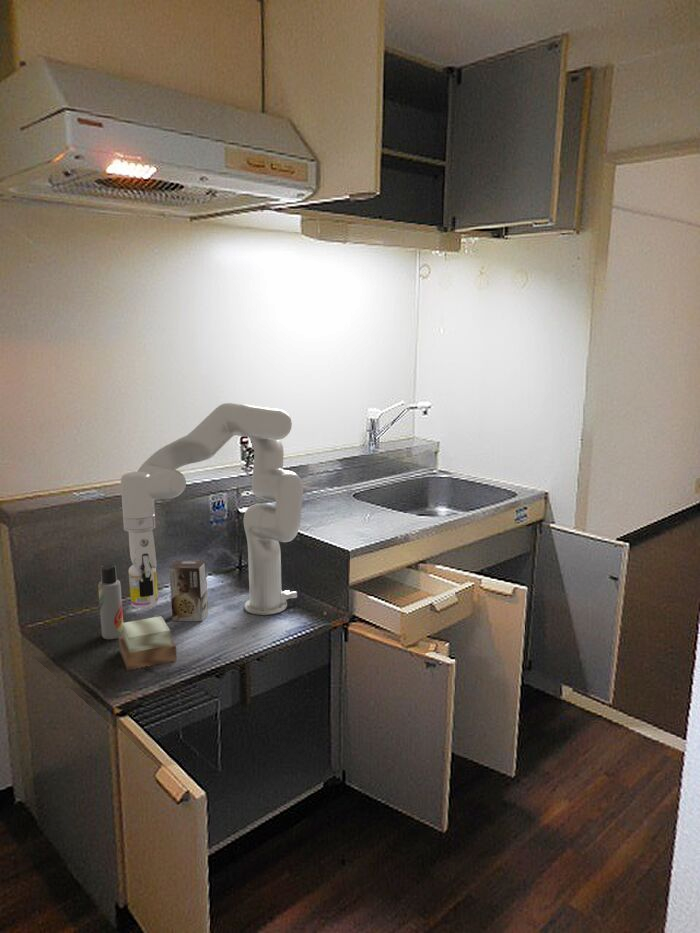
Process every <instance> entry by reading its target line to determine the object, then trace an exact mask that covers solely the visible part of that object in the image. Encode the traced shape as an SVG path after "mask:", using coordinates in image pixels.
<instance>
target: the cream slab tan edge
mask: <svg viewBox="0 0 700 933" xmlns="http://www.w3.org/2000/svg"><path fill="white" fill-rule="evenodd" d="M122 628H123V635H122V636H121V637H119V638H118V647H119V648H118V651H119V653H120V655H121V658H122V660H123V664H124V667H125V668H126V671H127V670H129V671H133V670H137V669H136V668H138V669H142V668H141V667H143V668H146V667H145V666H148V667H151V666H150V665H153V666H156V665H155V664H158V665H161V664H160V663H163V664H165V663H164V662H168V663H171V662H170V661H173V662H176V661H175V660H177V647H176V646H177V645H176V643H175V642H174V640H173V639H172V637H171V630H170V628H169V626H168V624H167V623H166V621H165V619H164V618H163V616H161V615H159V616H154V617H149V618H143V619H138V620H131V621H127V622H126V621H125V622H123V623H122ZM132 669H133V670H132Z"/></svg>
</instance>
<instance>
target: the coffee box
mask: <svg viewBox="0 0 700 933" xmlns="http://www.w3.org/2000/svg"><path fill="white" fill-rule="evenodd" d="M206 568H207V567H206V561H205V560H175V561H174V562H173V563H172V564H171V566H169V568H168V573H169V585H170V601H171V615H172V616H171V617H172V618H171V619H172V621H174V622H176V621H177V622H178V621H179V622H180V621H181V622H203V621H204V620H205V619H206V617H207V616H209V607H208V606H209V603H208V587H207V586H208V584H207V569H206Z"/></svg>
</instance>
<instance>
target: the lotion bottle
mask: <svg viewBox="0 0 700 933" xmlns="http://www.w3.org/2000/svg"><path fill="white" fill-rule="evenodd" d="M116 568H117V567H116V565H115V564H113V563H106V564H103V565H101V566H100V578H101V581H100V582H98V584H97V586H98V599H99V600H98V602H99V603H98V604H99V611H100V612H99V614H100V628H101V636H102V638H103V639H105V640H117V639H119V637H121V636H123V628H122V623H124V617H123V615H124V614H123V601H122V586H121V581H120V580H119V579H118V577H117V569H116Z"/></svg>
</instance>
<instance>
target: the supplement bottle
mask: <svg viewBox="0 0 700 933" xmlns="http://www.w3.org/2000/svg"><path fill="white" fill-rule="evenodd" d="M150 566H151V565H150ZM143 568H144V566H143V567H141V569H143ZM143 573H144V571H143V572H142V576H143ZM151 573H152V580H153V593H154V594H153V595H152V596H146V597H140V589H139V581H140V575H139V571H138V570H136V568H135V566H134V562H133V558H132V561H131V566H130V567H129V568H128V581H129V594H130V605H131V606H132V607H133V608H135V609H141V610H142V609H149V608H151V607H154V606H156V605H157V604H158V602H159V592H158V579H157V577H158V576H157V567H156V568H155V569H154V568H152V566H151Z"/></svg>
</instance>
